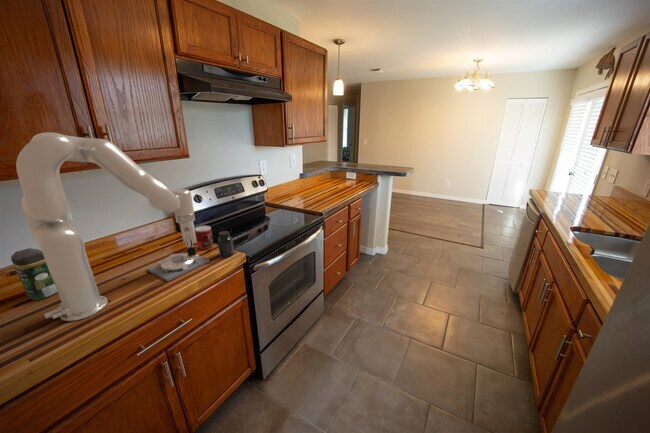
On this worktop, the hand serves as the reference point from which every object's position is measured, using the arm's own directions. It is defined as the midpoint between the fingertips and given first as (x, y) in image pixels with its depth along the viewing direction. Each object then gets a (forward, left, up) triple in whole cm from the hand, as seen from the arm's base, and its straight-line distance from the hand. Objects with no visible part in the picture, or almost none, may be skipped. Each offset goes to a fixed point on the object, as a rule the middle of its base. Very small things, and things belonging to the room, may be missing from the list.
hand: (192, 254), depth 122 cm
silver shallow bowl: (-4, +4, -4) cm, 7 cm away
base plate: (-4, +4, -5) cm, 8 cm away
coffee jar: (-44, +28, -5) cm, 53 cm away
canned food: (+15, +12, -5) cm, 19 cm away
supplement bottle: (+15, -5, -5) cm, 16 cm away
